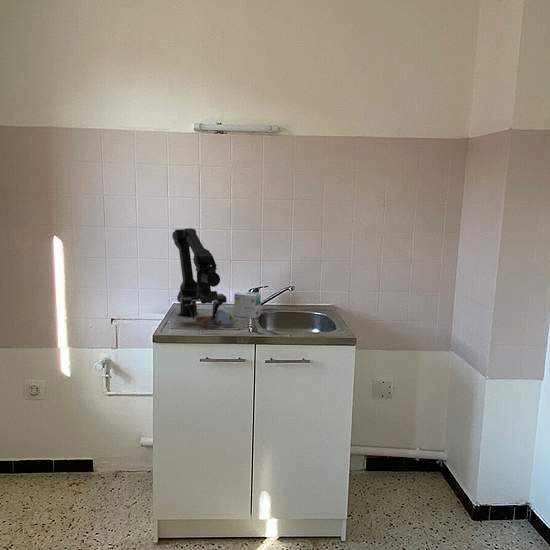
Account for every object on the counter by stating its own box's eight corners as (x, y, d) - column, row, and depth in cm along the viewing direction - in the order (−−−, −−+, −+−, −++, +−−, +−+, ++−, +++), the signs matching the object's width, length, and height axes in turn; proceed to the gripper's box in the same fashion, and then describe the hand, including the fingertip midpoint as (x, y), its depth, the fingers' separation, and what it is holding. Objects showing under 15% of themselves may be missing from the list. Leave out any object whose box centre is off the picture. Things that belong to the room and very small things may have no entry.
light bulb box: (260, 315, 223) (261, 292, 221) (255, 319, 216) (256, 295, 215) (239, 313, 226) (239, 290, 224) (233, 316, 220) (233, 293, 218)
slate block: (218, 324, 205) (218, 312, 205) (215, 321, 210) (215, 310, 209) (229, 323, 207) (229, 312, 206) (226, 320, 212) (226, 309, 211)
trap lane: (202, 329, 197) (202, 324, 197) (195, 321, 209) (195, 316, 209) (240, 327, 202) (240, 322, 202) (231, 319, 215) (231, 314, 214)
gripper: (184, 287, 192) (184, 325, 195) (229, 285, 198) (229, 322, 201) (180, 282, 203) (180, 318, 205) (223, 280, 209) (223, 316, 211)
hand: (203, 318), depth 205 cm, fingers open, 8 cm apart
